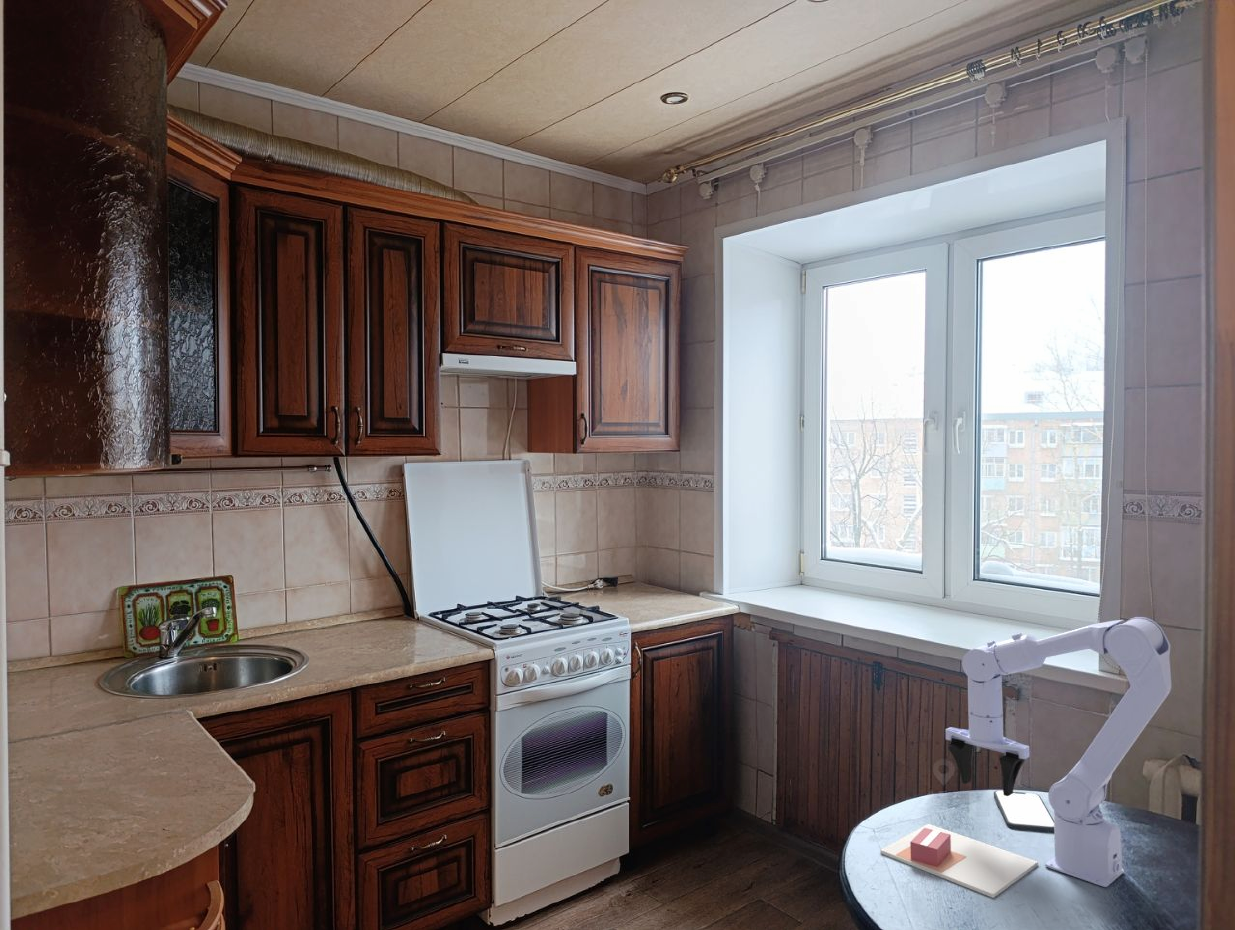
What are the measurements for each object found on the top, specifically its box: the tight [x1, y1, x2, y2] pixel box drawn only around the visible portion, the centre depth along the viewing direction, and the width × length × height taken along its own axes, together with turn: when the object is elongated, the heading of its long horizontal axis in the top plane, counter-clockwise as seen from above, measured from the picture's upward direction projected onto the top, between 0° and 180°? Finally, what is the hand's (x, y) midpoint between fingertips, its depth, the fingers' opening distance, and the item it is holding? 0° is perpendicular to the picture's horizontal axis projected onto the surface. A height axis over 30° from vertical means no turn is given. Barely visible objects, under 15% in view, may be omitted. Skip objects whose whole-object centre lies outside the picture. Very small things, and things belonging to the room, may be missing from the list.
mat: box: [880, 823, 1039, 899], centre depth 140 cm, size 20×16×1 cm
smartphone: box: [993, 790, 1054, 834], centre depth 158 cm, size 9×2×16 cm
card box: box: [910, 828, 951, 867], centre depth 140 cm, size 7×4×3 cm, turn 140°
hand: (987, 788), depth 147 cm, fingers open, 7 cm apart
